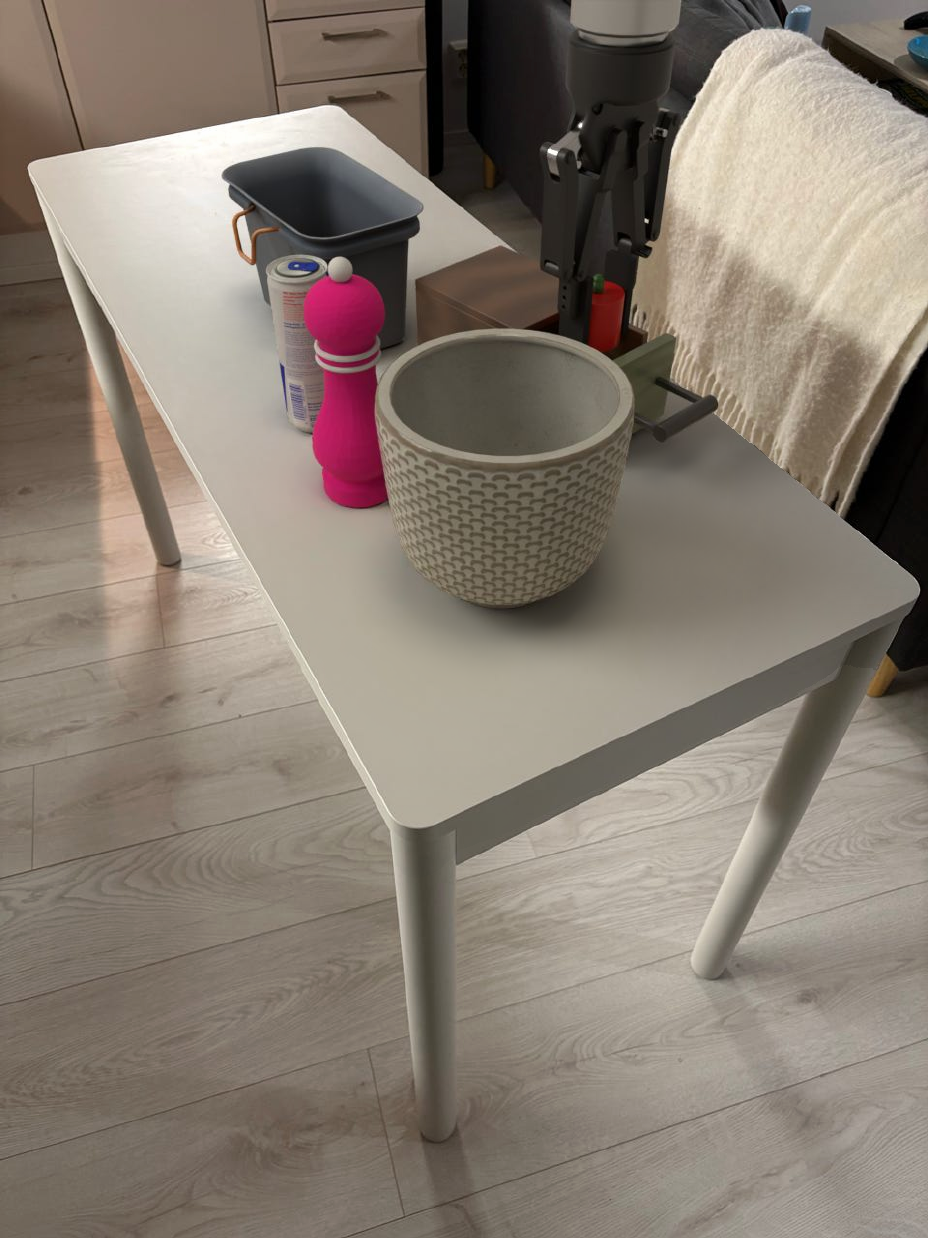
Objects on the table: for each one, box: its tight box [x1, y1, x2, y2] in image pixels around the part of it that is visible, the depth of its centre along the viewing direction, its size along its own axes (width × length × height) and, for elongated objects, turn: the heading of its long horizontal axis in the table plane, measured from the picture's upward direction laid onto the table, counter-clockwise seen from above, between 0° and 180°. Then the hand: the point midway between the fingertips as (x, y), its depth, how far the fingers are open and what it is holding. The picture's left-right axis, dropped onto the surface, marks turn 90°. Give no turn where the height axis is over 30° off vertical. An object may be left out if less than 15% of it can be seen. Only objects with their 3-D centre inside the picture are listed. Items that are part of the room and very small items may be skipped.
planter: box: [375, 329, 635, 610], centre depth 70 cm, size 17×17×16 cm
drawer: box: [536, 320, 719, 443], centre depth 86 cm, size 19×10×8 cm, turn 43°
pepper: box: [588, 273, 625, 352], centre depth 83 cm, size 5×5×6 cm
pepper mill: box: [303, 257, 389, 508], centre depth 76 cm, size 7×7×20 cm
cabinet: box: [414, 245, 560, 346], centre depth 93 cm, size 14×11×10 cm
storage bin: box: [221, 146, 425, 350], centre depth 99 cm, size 21×16×14 cm
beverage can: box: [266, 255, 329, 434], centre depth 85 cm, size 5×5×15 cm
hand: (593, 336), depth 84 cm, fingers closed on pepper, 5 cm apart
